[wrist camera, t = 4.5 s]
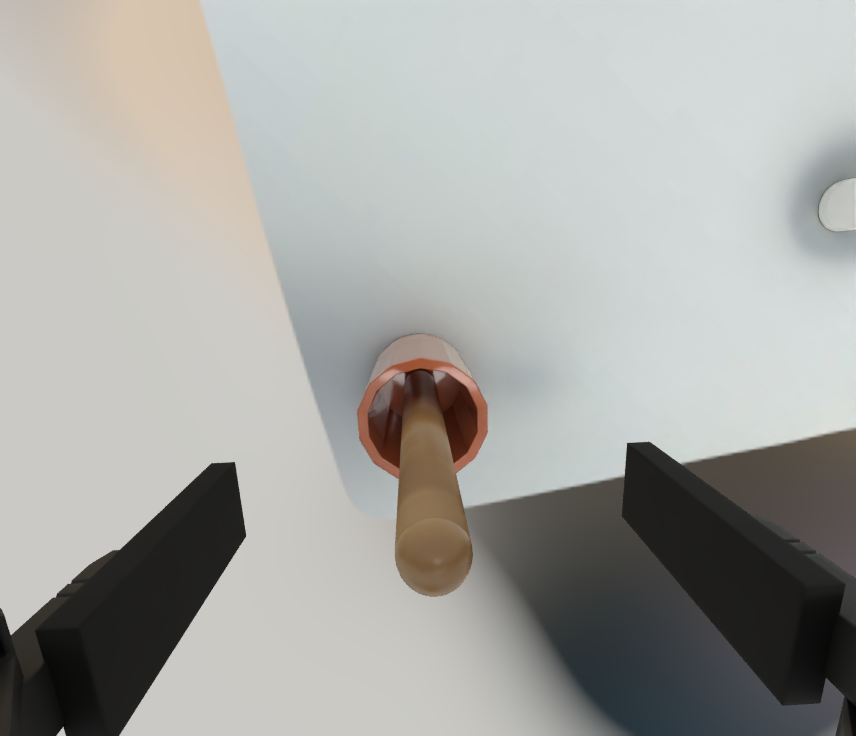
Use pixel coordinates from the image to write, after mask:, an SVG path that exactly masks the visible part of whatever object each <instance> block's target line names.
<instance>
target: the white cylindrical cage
mask: <svg viewBox="0 0 856 736" xmlns="http://www.w3.org/2000/svg"><path fill="white" fill-rule="evenodd" d="M819 218H820V220H821V222H822V224H823V225H824V226H825V227H826V228H827V229H829V230H831V231H848V230H856V178H851V179H846V180H842V181H839V182H837V183H835V184H833V185H832V186H831V187H830V188H829V189H828V190H827V191H826V192H825V193H824V195H823V197H822V199H821V201H820V204H819Z"/></svg>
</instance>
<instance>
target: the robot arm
mask: <svg viewBox="0 0 856 736" xmlns="http://www.w3.org/2000/svg"><path fill="white" fill-rule="evenodd" d="M622 517H623V518H624V519H625V520H626V521H627V523H628V524H629V525H630V526H631V527H632V529H633V530H634V531H635V532H636V533H637V534H638V536H639V537H640V538H641V539H642V540H643V542H644V543H645V544H646V545H647V546H648V547H649V549H650V550H651V551H652V552H653V553H654V554H655V556H656V557H657V558H658V559H659V560H660V562H661V563H662V564H663V565H664V566H665V567H666V569H667V570H668V571H669V572H670V573H671V575H672V576H673V577H674V578H675V579H676V580H677V582H678V583H679V584H680V585H681V586H682V588H683V589H684V590H685V591H686V592H687V593H688V595H689V596H690V597H691V598H692V599H693V601H695V603H696V604H697V605H698V606H699V607H700V609H701V610H702V611H703V612H704V613H705V615H706V616H707V617H708V618H709V619H710V621H711V622H712V623H713V624H714V625H715V626H716V628H717V629H718V630H719V631H720V632H721V633H722V635H723V636H724V637H725V638H726V639H727V641H728V642H729V643H730V644H731V645H732V647H733V648H734V649H735V650H736V651H737V652H738V654H739V655H740V656H741V657H742V658H743V660H744V661H745V662H746V663H747V664H748V665H749V667H750V668H751V669H752V670H753V671H754V672H755V674H756V675H757V676H758V677H759V678H760V679H761V681H762V682H763V683H764V684H765V685H766V687H767V688H768V689H769V690H770V691H771V693H772V694H773V695H774V696H775V697H776V698H777V700H778V701H779V702H780V703H781V704H782V705H798V704H814V703H820V702H821V697H822V692H823V688H824V683H825V679H826V678H827V679H828V680H829V681H830V682H831V683H832V684H833V685H835V687H836V688H837V689H839V691H840V692H841V693H842V694H843V695H844V696H845V697H844V701H843V706H842V710H841V715H840V719H839V723H838V728H837V732H836V736H856V578H854V577H853V576H851V575H850V574H848V573H847V572H846V571H844V570H843V569H841V568H840V567H838V566H837V565H835V564H834V563H833V562H831V561H830V560H828V559H827V558H825V557H824V556H823V555H821V554H817V553H816V551H815V550H814V549H812V548H811V547H810V546H808V545H807V544H805V543H804V542H800V540H799V539H798V538H797V537H795V536H794V535H792V534H791V533H790V532H788V531H787V530H785V529H784V528H782V527H781V526H779V525H777V524H775V523H773V522H770V521H768V520H766V519H764V518H761V517H759V516H757V515H750V514H748V513H747V512H746V511H744V510H743V509H741V508H740V507H739V506H737V505H736V504H735V503H733V502H732V501H730V500H729V499H728V498H726V497H725V496H724V495H722V494H721V493H719V492H718V491H717V490H715V489H714V488H713V487H711V486H710V485H708V484H707V483H706V482H704V481H703V480H701V479H700V478H699V477H697V476H696V475H695V474H693V473H692V472H690V471H689V470H688V469H686V468H685V467H684V466H682V465H681V464H679V463H678V462H677V461H675V460H674V459H673V458H671V457H670V456H668V455H667V454H666V453H664V452H663V451H661V450H660V449H659V448H657V447H656V446H655V445H653V444H652V443H650V442H638V443H627V453H626V467H625V481H624V494H623V509H622ZM245 537H246V532H245V525H244V518H243V512H242V506H241V499H240V492H239V487H238V479H237V473H236V467H235V462H230V463H212V464H210V465H209V466H208V467H207V468H206V469H205V470H204V471H203V472H202V473H201V474H200V475H199V476H198V477H197V478H196V479H194V480H193V481H192V482H191V483H190V484H189V485H188V486H187V487H186V488H185V489H184V490H183V491H182V492H181V493H180V494H179V495H178V496H176V497H175V499H173V500H172V501H171V502H170V503H169V504H168V505H167V506H166V507H165V508H164V509H163V510H162V511H161V512H160V513H158V514H157V515H156V516H155V517H154V518H153V519H152V520H151V521H150V522H149V523H148V524H147V525H146V526H145V527H144V528H143V529H142V530H140V531H139V533H137V534H136V535H135V536H134V537H133V538H132V539H131V540H130V541H129V542H128V543H127V544H126V545H125V546H124V547H122V548H121V549H120V550H116V551H115V550H114V551H112V552H110V553H108V554H106V555H105V556H103V557H101V558H100V559H98V560H96V561H95V562H93V563H92V564H90V565H89V566H88V567H86V568H85V569H84V570H83V571H82V572H81V573H80V574H79V575H78V576H77V577H75V578H74V579H73V580H72V583H71V584H68V585H67V586H65V588H63V589H62V590H61V591H60V592H59V593H58V594H57V596H56V598H52V599H51V600H50V601H49V602H48V603H46V604H45V605H44V606H43V607H42V608H41V609H40V610H39V611H38V612H37V613H35V614H34V615H33V616H32V617H31V618H30V619H29V620H28V621H27V622H25V623H24V624H23V625H22V626H21V627H20V628H19V629H18V630H17V631H15V632H14V633H13V634H12V635H10V632H9V629H8V626H7V623H6V620H5V616H4V614H3V612H2V610H1V608H0V736H56V735H57V734H58V733H59V731H60V730H61V729H62V727H64V730H65V734H66V736H119V735H120V733H121V732H122V730H123V729H124V727H125V725H126V724H127V722H128V721H129V719H130V718H131V716H132V715H133V713H134V711H135V710H136V708H137V707H138V705H139V703H140V702H141V700H142V699H143V697H144V696H145V694H146V693H147V691H148V689H149V688H150V686H151V685H152V683H153V682H154V680H155V678H156V677H157V675H158V674H159V672H160V670H161V669H162V667H163V666H164V664H165V663H166V661H167V659H168V658H169V656H170V654H171V653H172V651H173V650H174V649H175V647H176V645H177V644H178V642H179V641H180V639H181V638H182V636H183V634H184V633H185V631H186V630H187V628H188V627H189V625H190V623H191V622H192V620H193V619H194V617H195V616H196V614H197V612H198V611H199V609H200V608H201V606H202V605H203V603H204V601H205V599H206V598H207V597H208V595H209V594H210V592H211V590H212V589H213V587H214V586H215V584H216V583H217V581H218V579H219V578H220V576H221V575H222V573H223V572H224V570H225V568H226V567H227V565H228V564H229V562H230V561H231V559H232V557H233V556H234V554H235V553H236V551H237V550H238V548H239V546H240V545H241V543H242V542H243V540H244V539H245Z"/></svg>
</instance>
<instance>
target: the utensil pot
mask: <svg viewBox="0 0 856 736" xmlns="http://www.w3.org/2000/svg"><path fill="white" fill-rule="evenodd" d="M418 370H422V371H426V372H428V373H430V374H431V375H432V376H433V378H434V379H435V382H436V386H437V391H438V395H439V400H440V404H441V409H442V413H443V418H444V422H445V427H446V431H447V436H448V440H449V445H450V449H451V454H452V458H453V463H454V467H455V472H456V473H457V472H458V471H460V470H461V469H462V468H463V467H465V466H466V465H467V464H468V463H470V462H471V461H472V460H473V459H474V458H475V457H476V455H477V453H478V451H479V449H480V447H481V445H482V443H483V441H484V439H485V437H486V435H487V432H488V423H487V403H486V401H485V400H484V398H483V396H482V394H481V392H480V390H479V388H478V386H477V384H476V382H475V380H474V379H473V377H472V375H471V374H470V372H469V370H468V368H467V367H466V365H465V363H464V361H463V360H462V358H461V356H460V355H459V353H458V351H457V350H456V349H454V348H453V347H452V346H451V345H450V344H448V343H447V342H446V341H444V340H442V339H441V338H438V337H435V336H432V335H427V334H413V335H408V336H404V337H402V338H399V339H397V340H395V341H394V342H392V343H391V344H390V345H388V346H387V347H386V348H385V349H384V351H383V352H382V353H380V355H379V357H378V359H377V362H376V364H375V366H374V369H373V371H372V374H371V376H370V379H369V382H368V384H367V387H366V389H365V392H364V395H363V397H362V400H361V403H360V405H359V408H358V412H357V417H358V429H359V439H360V441H361V443H362V445H363V446H364V448H365V450H366V451H367V453H368V454H369V456H370V458H371V459H372V461H373V462H374V463H375V464H376V465H377V466H379V467H381V468H382V469H384V470H385V471H387V472H388V473H390V474H391V475H393V476H394V477H396V478H398V479H399V470H400V452H401V435H402V417H403V399H404V384H405V380H406V378H407V377H408V375H410V374H411V373H412V372H414V371H418Z"/></svg>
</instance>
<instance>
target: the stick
mask: <svg viewBox="0 0 856 736" xmlns="http://www.w3.org/2000/svg"><path fill="white" fill-rule="evenodd" d="M472 556H473V553H472V544H471V540H470V535H469V531H468V526H467V522H466V517H465V513H464V508H463V504H462V499H461V495H460V490H459V485H458V481H457V476H456V472H455V467H454V463H453V458H452V454H451V449H450V445H449V440H448V436H447V431H446V427H445V422H444V418H443V413H442V409H441V404H440V400H439V395H438V391H437V386H436V382H435V379H434V378H433V376H432V375H431V374H430V373H428V372H426V371H422V370H418V371H414V372H412V373H411V374H410V375H408V377H407V378H406V380H405V384H404V399H403V417H402V435H401V452H400V470H399V488H398V506H397V523H396V541H395V561H396V566H397V569H398V571H399V573H400V576H401V578H402V579H403V581H404V582H405V583H406V584H407V585H408V586H409V587H410V588H411V589H412V590H414V591H415V592H417V593H419V594H422V595H425V596H430V597H437V596H443V595H446V594H448V593H450V592H452V591H454V590H455V589H457V588H458V587H459V586H460V585H461V584H462V583H463V582H464V580H465V579H466V577H467V575H468V574H469V571H470V568H471V564H472Z"/></svg>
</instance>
